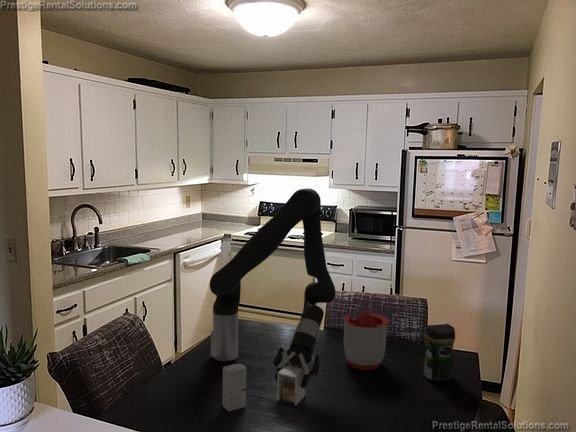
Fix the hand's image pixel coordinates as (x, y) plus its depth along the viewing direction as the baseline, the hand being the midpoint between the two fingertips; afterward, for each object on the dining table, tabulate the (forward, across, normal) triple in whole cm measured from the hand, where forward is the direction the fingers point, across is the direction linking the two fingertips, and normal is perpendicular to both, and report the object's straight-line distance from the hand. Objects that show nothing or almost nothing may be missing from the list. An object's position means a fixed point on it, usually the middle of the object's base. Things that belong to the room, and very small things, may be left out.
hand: (289, 384), depth 144 cm
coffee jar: (-23, +38, +31) cm, 54 cm away
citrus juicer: (-22, +12, +29) cm, 39 cm away
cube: (+3, 0, +4) cm, 5 cm away
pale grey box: (+3, 0, +4) cm, 5 cm away
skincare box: (+11, -13, -4) cm, 18 cm away
